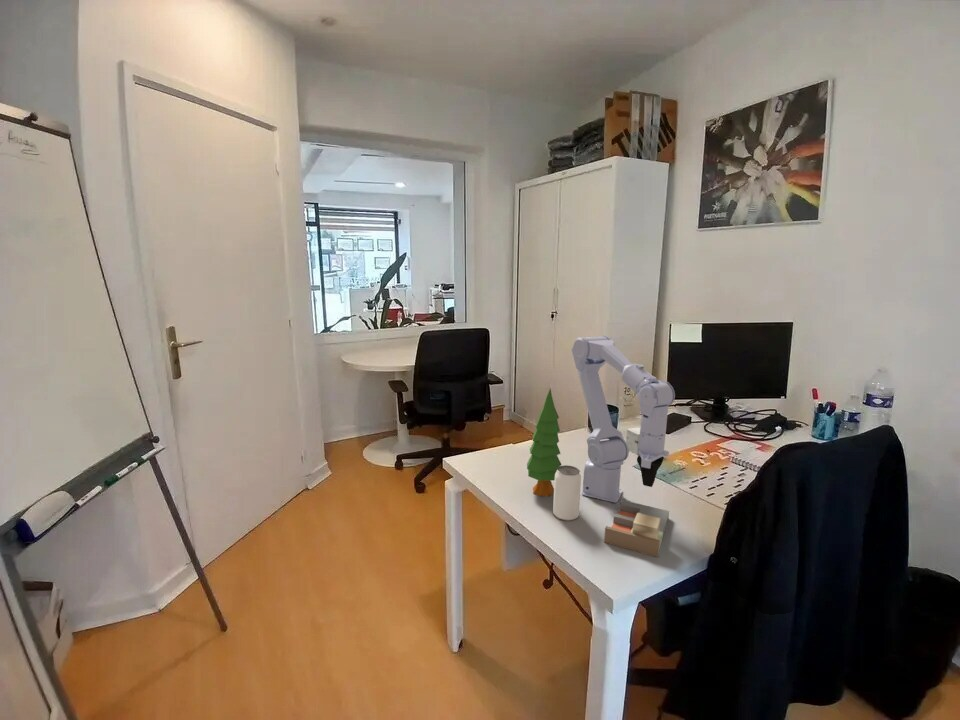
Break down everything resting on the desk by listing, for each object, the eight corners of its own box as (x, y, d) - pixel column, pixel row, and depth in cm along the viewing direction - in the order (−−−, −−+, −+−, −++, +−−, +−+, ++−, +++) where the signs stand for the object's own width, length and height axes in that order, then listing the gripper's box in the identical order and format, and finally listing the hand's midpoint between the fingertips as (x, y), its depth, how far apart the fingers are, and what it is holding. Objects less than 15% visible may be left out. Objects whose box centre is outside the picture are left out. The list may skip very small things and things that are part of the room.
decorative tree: (550, 502, 125) (555, 393, 119) (518, 493, 129) (522, 387, 124) (563, 488, 133) (569, 385, 127) (533, 480, 138) (537, 380, 132)
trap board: (604, 542, 107) (605, 528, 106) (621, 506, 123) (622, 494, 122) (657, 557, 102) (658, 542, 101) (668, 518, 118) (669, 505, 117)
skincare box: (624, 448, 163) (626, 428, 162) (638, 446, 166) (640, 426, 164) (636, 455, 158) (638, 434, 156) (651, 452, 160) (652, 432, 159)
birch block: (631, 539, 105) (633, 522, 104) (636, 528, 109) (637, 512, 108) (655, 545, 102) (657, 528, 102) (658, 534, 107) (660, 518, 106)
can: (575, 508, 122) (578, 464, 120) (581, 521, 116) (584, 475, 113) (550, 508, 122) (552, 464, 119) (555, 521, 115) (557, 475, 113)
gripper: (666, 444, 104) (661, 501, 106) (674, 426, 116) (669, 477, 119) (633, 439, 107) (629, 494, 110) (644, 421, 120) (640, 471, 122)
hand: (648, 485), depth 115 cm, fingers closed
